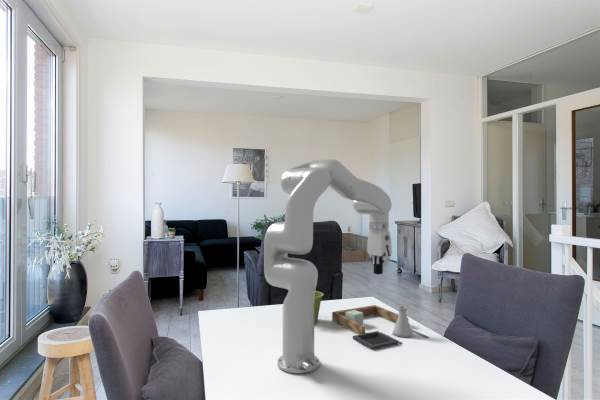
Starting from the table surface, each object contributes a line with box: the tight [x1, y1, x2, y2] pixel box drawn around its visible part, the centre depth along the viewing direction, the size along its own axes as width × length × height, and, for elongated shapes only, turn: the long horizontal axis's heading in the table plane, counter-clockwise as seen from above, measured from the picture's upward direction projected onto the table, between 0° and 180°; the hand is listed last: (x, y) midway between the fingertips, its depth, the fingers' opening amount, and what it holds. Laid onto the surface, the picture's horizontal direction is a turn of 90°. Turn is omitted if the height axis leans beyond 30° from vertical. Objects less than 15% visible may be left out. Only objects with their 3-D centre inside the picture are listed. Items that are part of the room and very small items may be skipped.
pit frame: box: [352, 330, 399, 351], centre depth 131 cm, size 11×11×1 cm
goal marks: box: [380, 328, 429, 345], centre depth 136 cm, size 11×13×1 cm
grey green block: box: [345, 310, 364, 326], centre depth 148 cm, size 5×5×5 cm
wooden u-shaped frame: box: [331, 304, 409, 335], centre depth 150 cm, size 20×22×4 cm
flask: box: [392, 305, 414, 338], centre depth 138 cm, size 7×7×10 cm
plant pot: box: [314, 290, 324, 324], centre depth 153 cm, size 12×12×11 cm
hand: (378, 273), depth 147 cm, fingers closed
